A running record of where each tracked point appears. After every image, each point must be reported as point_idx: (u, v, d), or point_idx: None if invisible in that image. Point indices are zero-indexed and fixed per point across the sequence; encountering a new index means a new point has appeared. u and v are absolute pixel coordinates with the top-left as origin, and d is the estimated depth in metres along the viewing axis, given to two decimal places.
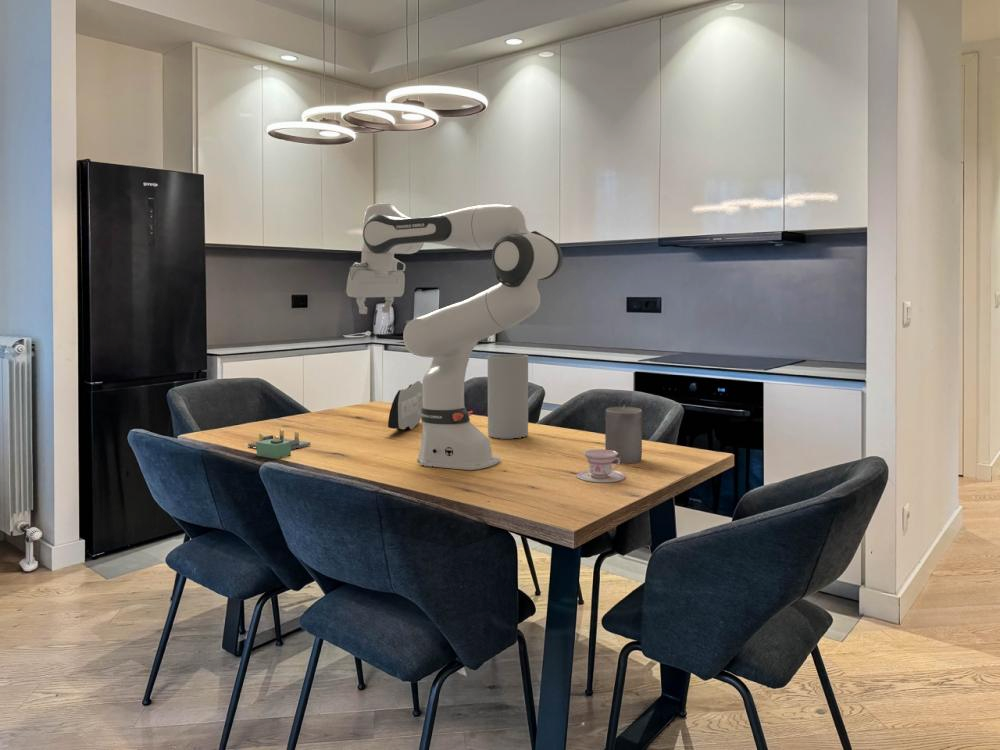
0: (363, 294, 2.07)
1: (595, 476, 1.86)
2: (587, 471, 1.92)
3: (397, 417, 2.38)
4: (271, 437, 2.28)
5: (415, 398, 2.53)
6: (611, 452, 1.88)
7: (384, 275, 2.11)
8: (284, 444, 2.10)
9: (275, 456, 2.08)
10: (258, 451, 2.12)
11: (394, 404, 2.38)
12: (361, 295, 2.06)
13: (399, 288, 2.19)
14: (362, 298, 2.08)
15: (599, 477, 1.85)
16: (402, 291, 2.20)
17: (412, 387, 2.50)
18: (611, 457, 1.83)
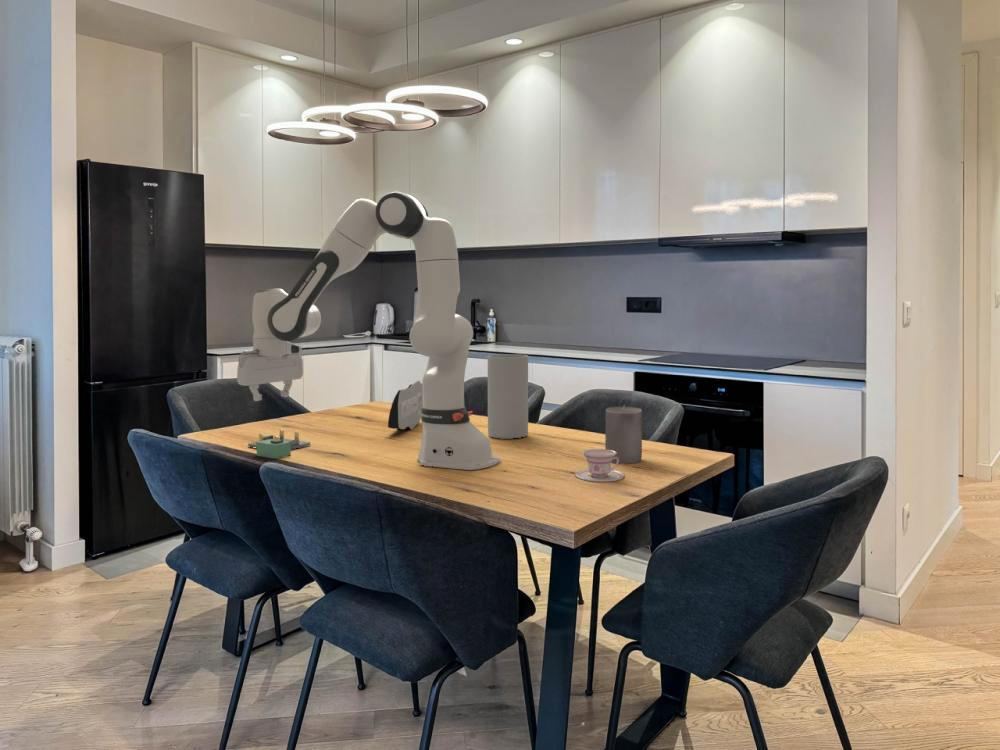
0: (255, 381, 2.03)
1: (594, 475, 1.86)
2: (586, 470, 1.92)
3: (397, 417, 2.38)
4: (271, 437, 2.28)
5: (415, 398, 2.53)
6: (610, 452, 1.89)
7: (277, 360, 2.07)
8: (284, 444, 2.10)
9: (275, 456, 2.08)
10: (258, 451, 2.12)
11: (394, 404, 2.38)
12: (252, 383, 2.03)
13: (297, 370, 2.15)
14: (255, 385, 2.04)
15: (598, 476, 1.86)
16: (301, 373, 2.16)
17: (412, 387, 2.50)
18: (610, 456, 1.84)
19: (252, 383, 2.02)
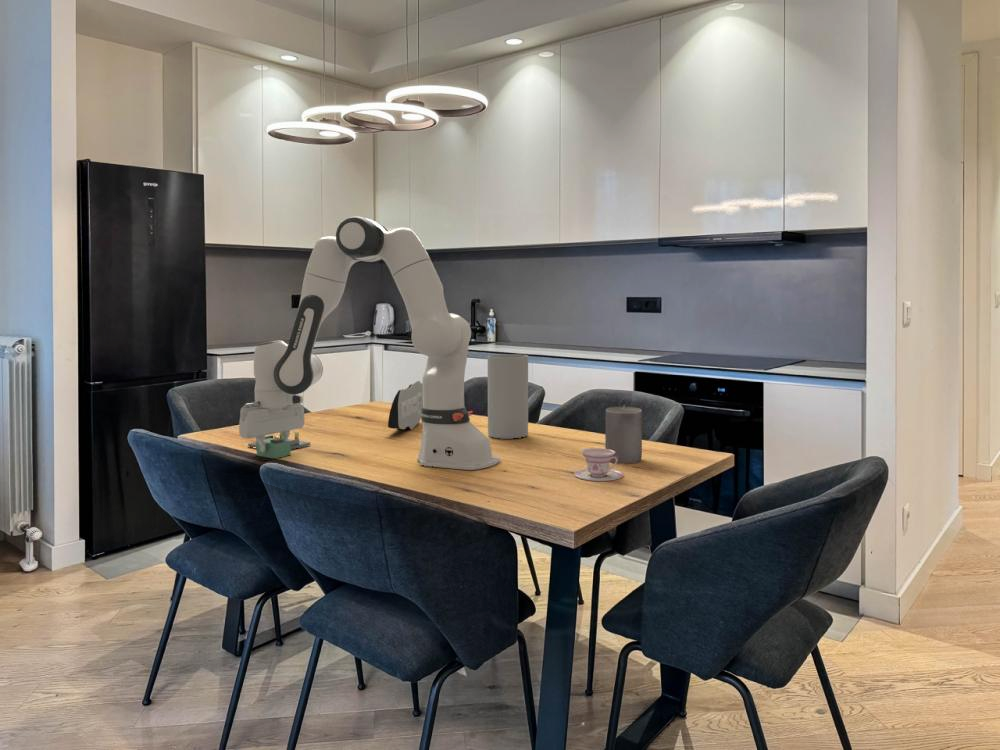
0: (257, 434, 2.05)
1: (593, 475, 1.87)
2: (585, 470, 1.93)
3: (397, 417, 2.38)
4: (271, 437, 2.28)
5: (415, 398, 2.53)
6: (609, 451, 1.90)
7: (278, 411, 2.09)
8: (284, 443, 2.10)
9: (275, 455, 2.08)
10: (258, 450, 2.12)
11: (394, 404, 2.38)
12: (254, 435, 2.04)
13: (298, 420, 2.17)
14: (261, 437, 2.07)
15: (597, 476, 1.87)
16: (302, 422, 2.18)
17: (412, 387, 2.50)
18: (608, 456, 1.84)
19: (254, 436, 2.04)
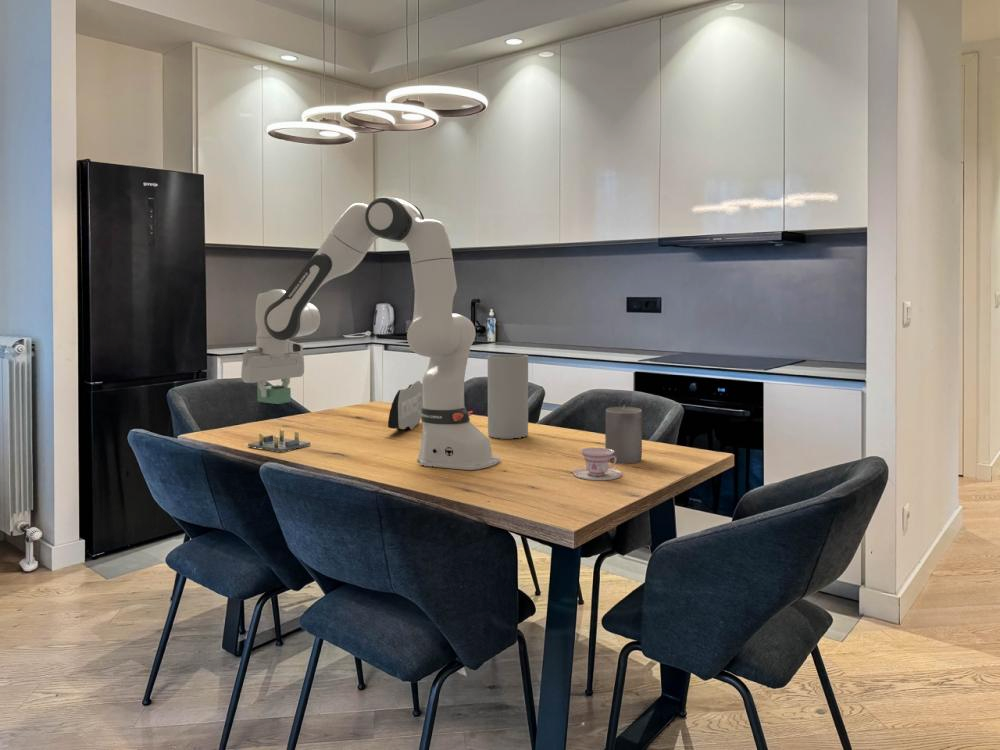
0: (258, 379, 2.11)
1: (592, 474, 1.88)
2: (584, 469, 1.94)
3: (397, 417, 2.38)
4: (271, 437, 2.28)
5: (415, 398, 2.53)
6: (608, 450, 1.90)
7: (279, 358, 2.15)
8: (284, 389, 2.16)
9: (275, 400, 2.15)
10: (259, 396, 2.18)
11: (394, 404, 2.38)
12: (256, 380, 2.10)
13: (298, 368, 2.23)
14: (262, 382, 2.13)
15: (596, 475, 1.87)
16: (302, 371, 2.24)
17: (412, 387, 2.50)
18: (607, 455, 1.85)
19: (256, 380, 2.10)
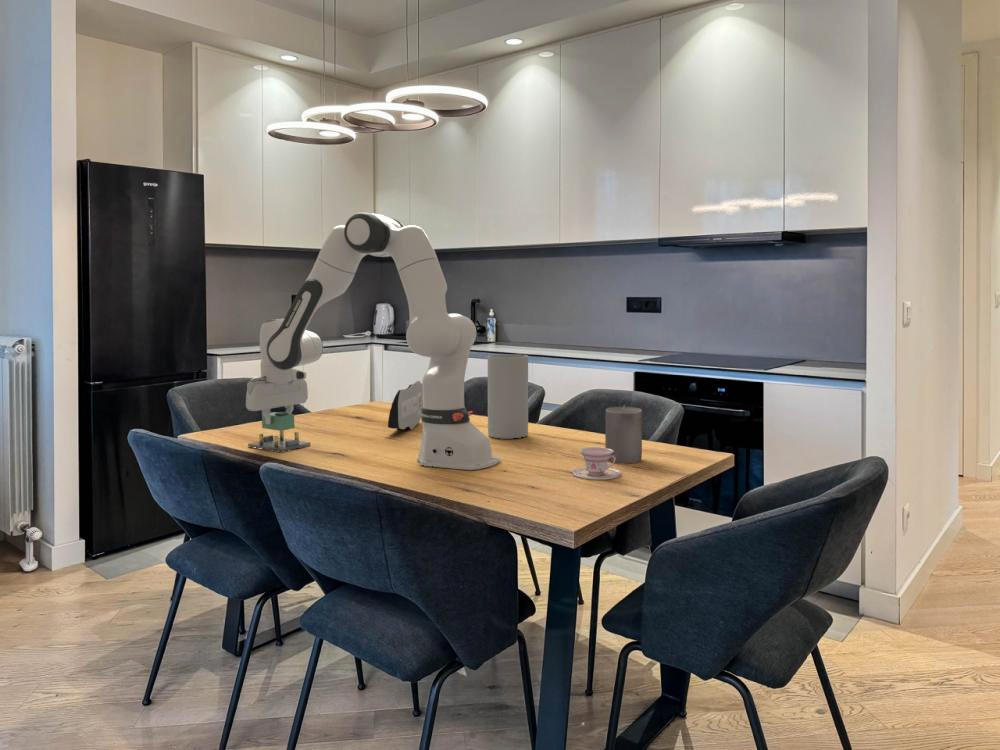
0: (263, 407, 2.16)
1: (591, 473, 1.88)
2: (583, 469, 1.94)
3: (397, 417, 2.38)
4: (271, 437, 2.28)
5: (415, 398, 2.53)
6: (607, 450, 1.91)
7: (283, 386, 2.20)
8: (288, 416, 2.21)
9: (279, 427, 2.19)
10: (263, 423, 2.23)
11: (394, 404, 2.38)
12: (260, 408, 2.15)
13: (302, 395, 2.28)
14: (267, 410, 2.18)
15: (595, 474, 1.88)
16: (306, 397, 2.29)
17: (412, 387, 2.50)
18: (607, 455, 1.86)
19: (260, 408, 2.15)
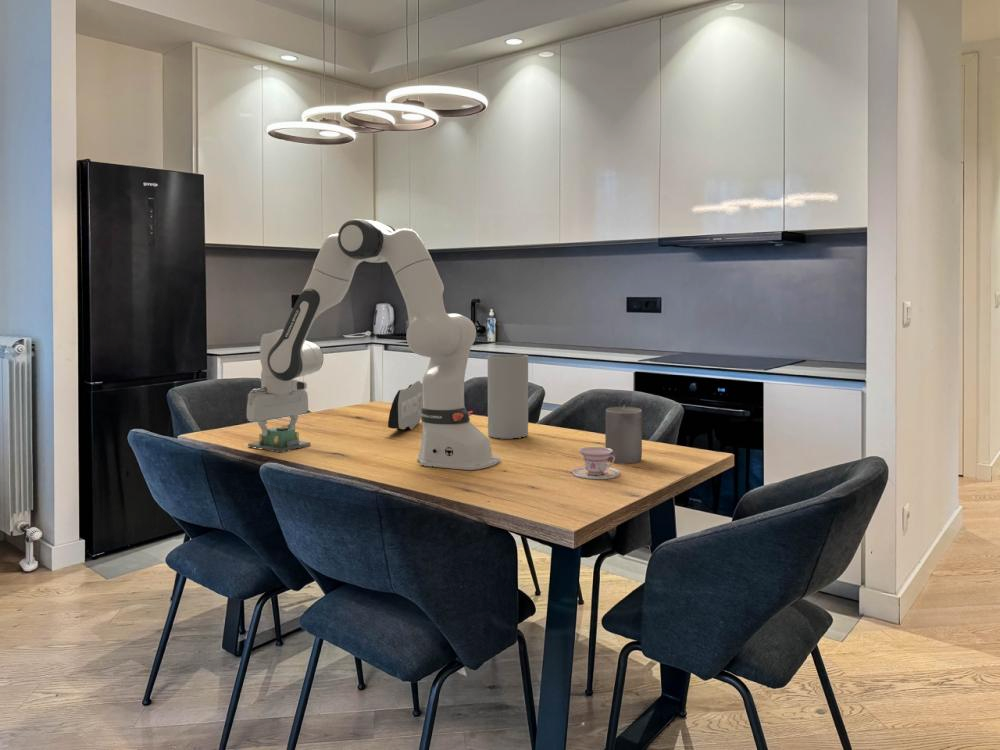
0: (263, 418, 2.16)
1: (590, 473, 1.89)
2: (583, 468, 1.95)
3: (397, 417, 2.38)
4: None
5: (415, 398, 2.53)
6: (606, 449, 1.91)
7: (284, 396, 2.20)
8: (289, 431, 2.22)
9: (280, 443, 2.20)
10: (264, 438, 2.23)
11: (394, 404, 2.38)
12: (261, 419, 2.16)
13: (302, 405, 2.28)
14: (263, 421, 2.17)
15: (594, 474, 1.88)
16: (306, 408, 2.29)
17: (412, 387, 2.50)
18: (606, 454, 1.86)
19: (261, 419, 2.15)
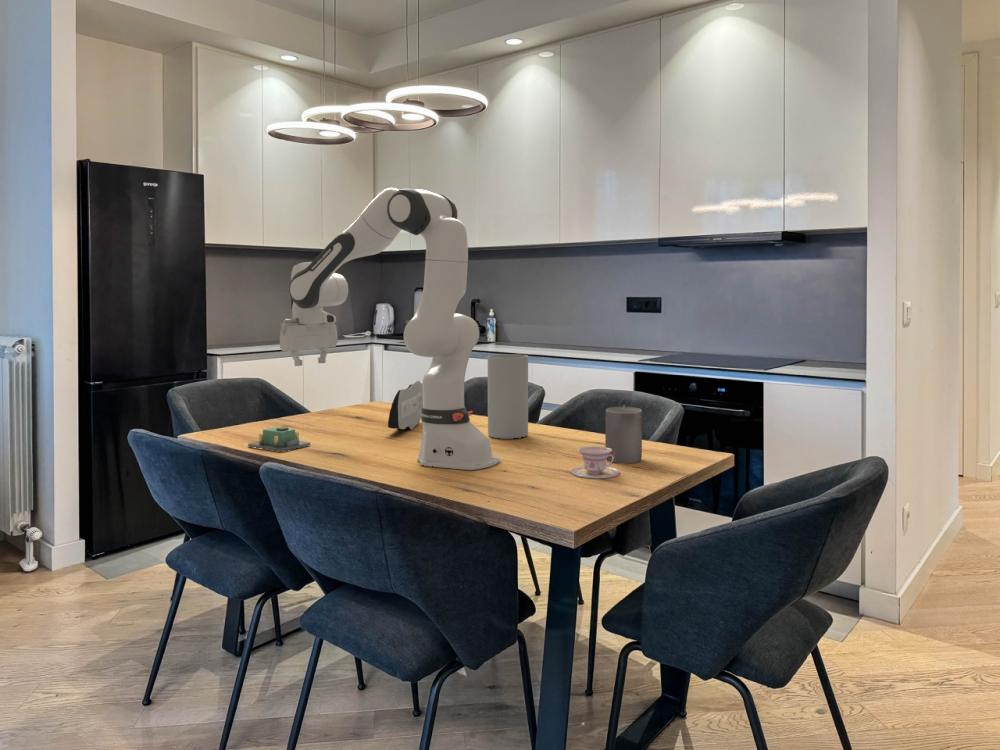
0: (296, 347, 2.20)
1: (589, 472, 1.89)
2: (582, 467, 1.95)
3: (397, 417, 2.38)
4: None
5: (415, 398, 2.53)
6: (605, 449, 1.92)
7: (315, 328, 2.25)
8: (289, 431, 2.22)
9: (280, 443, 2.20)
10: (264, 438, 2.23)
11: (394, 404, 2.38)
12: (294, 348, 2.20)
13: (332, 339, 2.33)
14: (296, 351, 2.21)
15: (593, 473, 1.89)
16: (335, 341, 2.34)
17: (412, 387, 2.50)
18: (605, 454, 1.87)
19: (294, 349, 2.20)
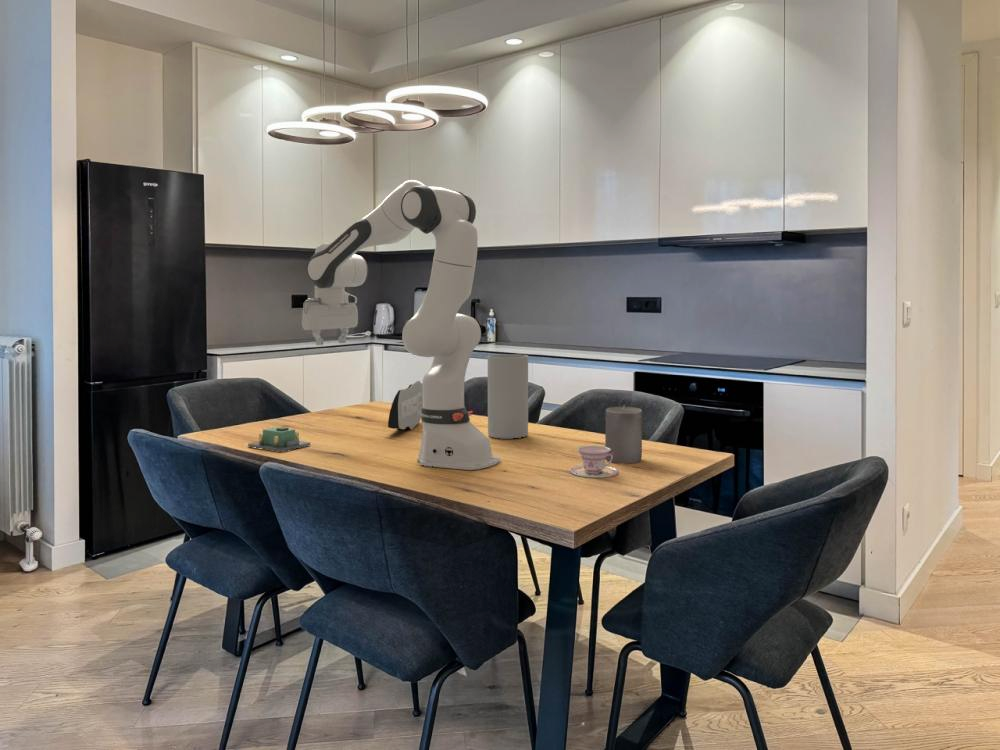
0: (318, 326, 2.25)
1: (588, 472, 1.90)
2: (581, 467, 1.96)
3: (397, 417, 2.38)
4: None
5: (415, 398, 2.53)
6: (604, 448, 1.93)
7: (336, 308, 2.29)
8: (289, 431, 2.22)
9: (280, 443, 2.20)
10: (264, 438, 2.23)
11: (394, 404, 2.38)
12: (316, 327, 2.24)
13: (352, 319, 2.37)
14: (317, 330, 2.26)
15: (592, 473, 1.90)
16: (356, 322, 2.38)
17: (412, 387, 2.50)
18: (604, 453, 1.88)
19: (315, 328, 2.24)
